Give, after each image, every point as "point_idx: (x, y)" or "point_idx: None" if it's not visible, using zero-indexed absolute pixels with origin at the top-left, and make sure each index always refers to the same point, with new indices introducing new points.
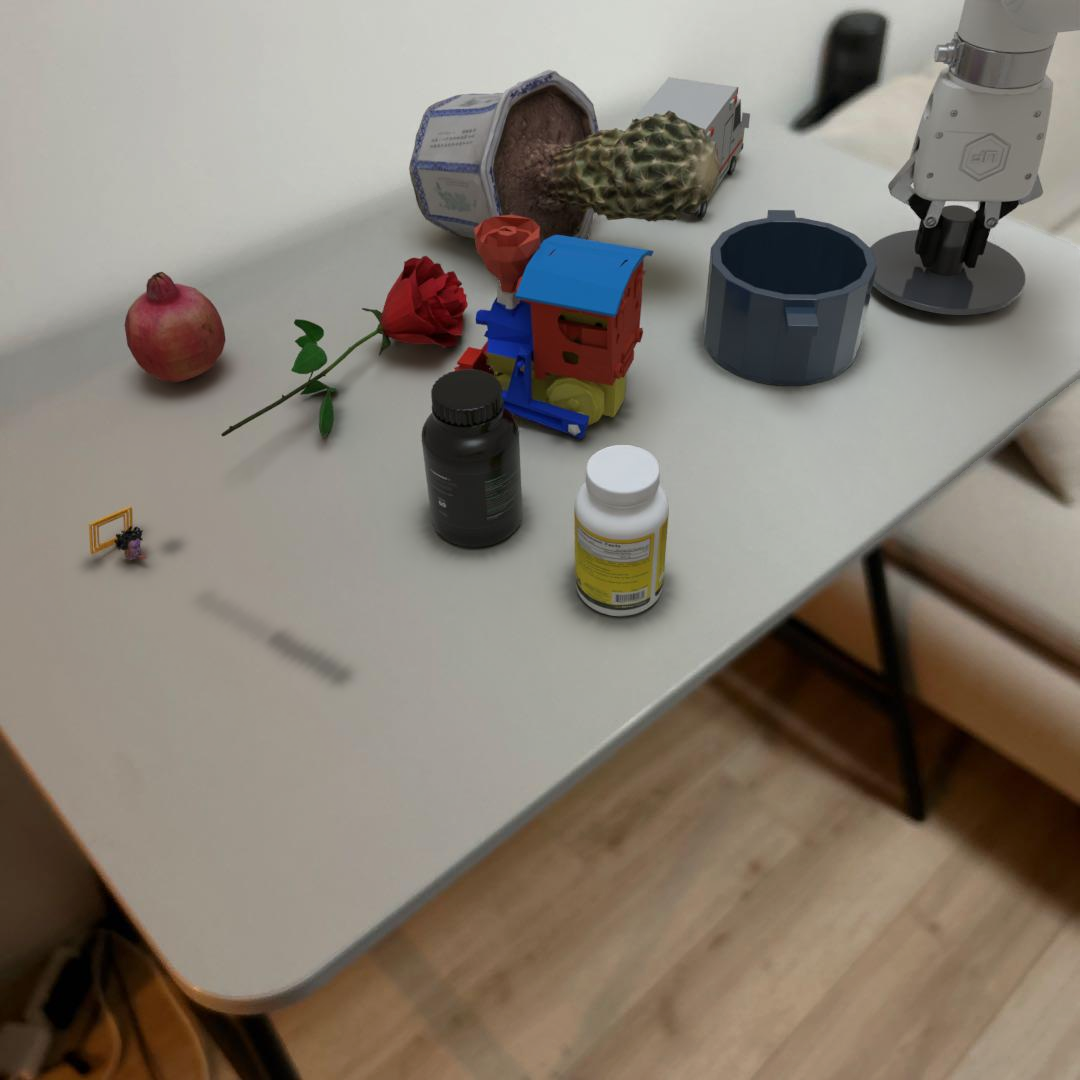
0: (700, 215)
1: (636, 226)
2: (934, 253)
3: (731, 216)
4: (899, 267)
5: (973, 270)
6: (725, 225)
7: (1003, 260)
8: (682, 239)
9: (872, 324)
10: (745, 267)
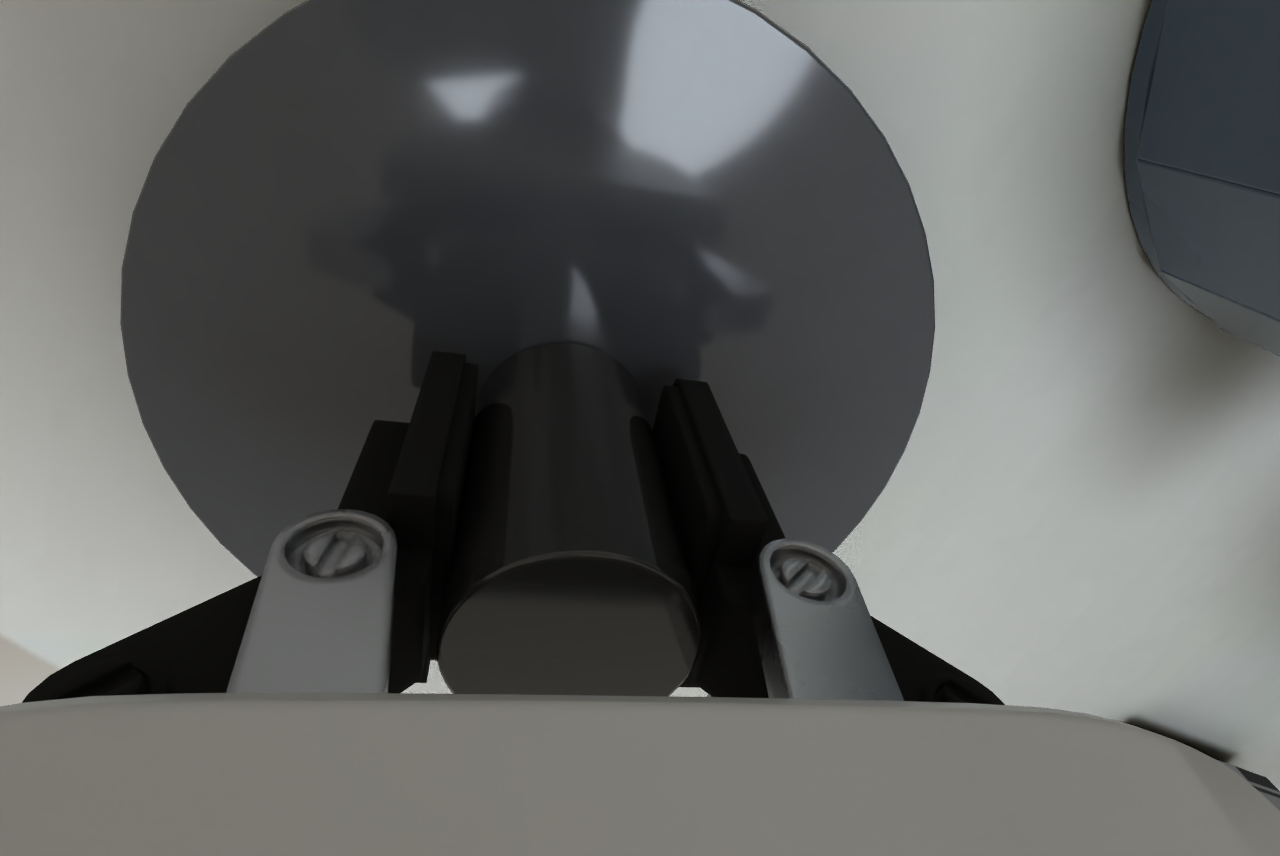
0: None
1: (1276, 705)
2: (684, 422)
3: None
4: (767, 432)
5: (418, 379)
6: (1066, 710)
7: (233, 453)
8: (1220, 656)
9: (1005, 79)
10: None
